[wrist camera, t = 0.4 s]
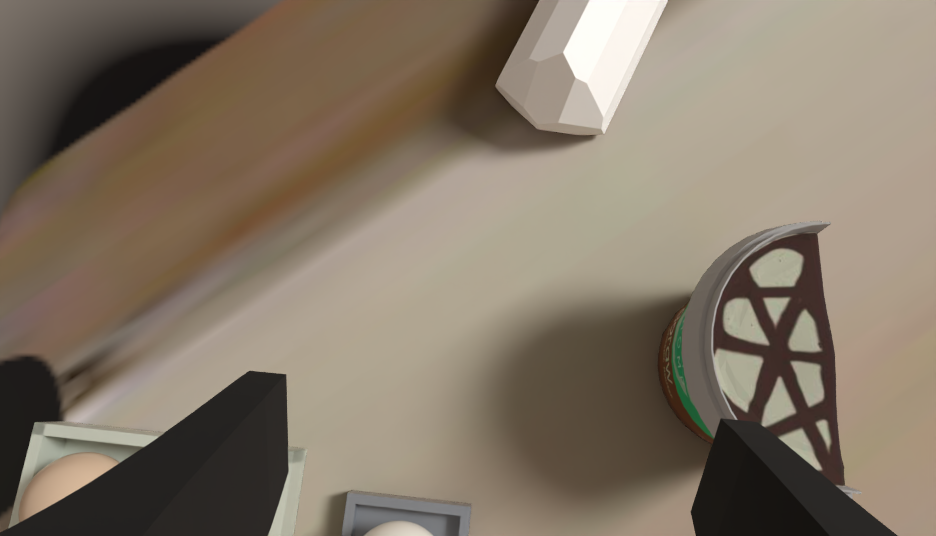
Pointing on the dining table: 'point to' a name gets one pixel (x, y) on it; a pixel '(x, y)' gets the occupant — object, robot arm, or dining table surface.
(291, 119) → the dining table surface
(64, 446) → the egg tray
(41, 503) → the brown egg
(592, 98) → the white trapezoid ingot
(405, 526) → the white egg
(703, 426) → the food container
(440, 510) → the dish
